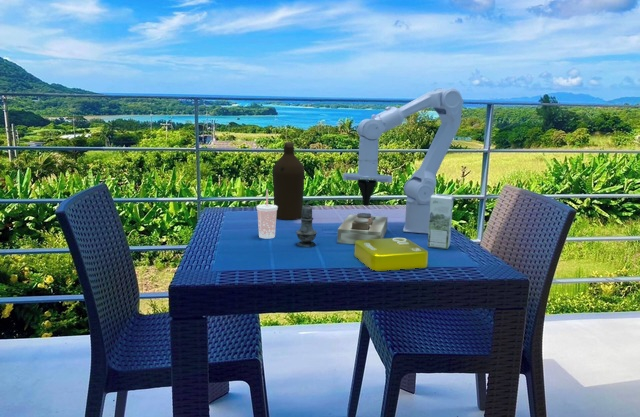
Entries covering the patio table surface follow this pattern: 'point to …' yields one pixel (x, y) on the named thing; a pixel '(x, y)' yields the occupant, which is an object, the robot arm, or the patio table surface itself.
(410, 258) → the element tile
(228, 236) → the patio table surface
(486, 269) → the patio table surface
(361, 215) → the beige grey-dot cube
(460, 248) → the patio table surface
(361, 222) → the cube with pale circle
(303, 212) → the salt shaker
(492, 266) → the patio table surface
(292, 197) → the olive oil
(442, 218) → the syrup box
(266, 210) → the beverage cup
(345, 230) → the grey square block
